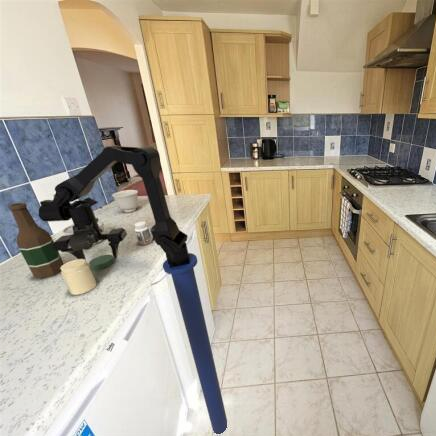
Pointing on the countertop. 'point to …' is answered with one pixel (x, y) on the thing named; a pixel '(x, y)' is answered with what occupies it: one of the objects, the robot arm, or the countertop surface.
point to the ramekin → (69, 230)
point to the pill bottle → (142, 233)
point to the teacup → (127, 200)
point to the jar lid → (101, 261)
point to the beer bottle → (35, 244)
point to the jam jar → (78, 276)
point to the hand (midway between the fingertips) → (100, 260)
